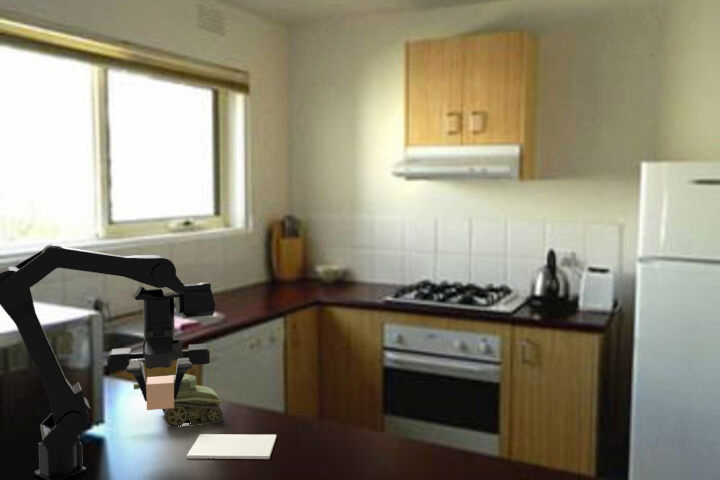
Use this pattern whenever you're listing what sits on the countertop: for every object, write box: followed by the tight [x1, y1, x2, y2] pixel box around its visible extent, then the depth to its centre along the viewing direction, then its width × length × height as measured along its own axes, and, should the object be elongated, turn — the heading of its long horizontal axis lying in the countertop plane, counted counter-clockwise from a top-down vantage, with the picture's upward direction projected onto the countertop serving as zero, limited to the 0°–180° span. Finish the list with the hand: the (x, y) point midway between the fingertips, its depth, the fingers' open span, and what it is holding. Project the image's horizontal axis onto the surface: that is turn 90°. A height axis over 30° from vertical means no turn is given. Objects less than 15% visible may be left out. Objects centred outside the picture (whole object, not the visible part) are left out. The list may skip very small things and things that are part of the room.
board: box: [186, 433, 277, 460], centre depth 136 cm, size 16×11×1 cm
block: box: [146, 374, 175, 411], centre depth 131 cm, size 5×5×5 cm
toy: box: [133, 373, 224, 428], centre depth 151 cm, size 10×18×10 cm, turn 112°
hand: (160, 399), depth 131 cm, fingers closed on block, 5 cm apart
